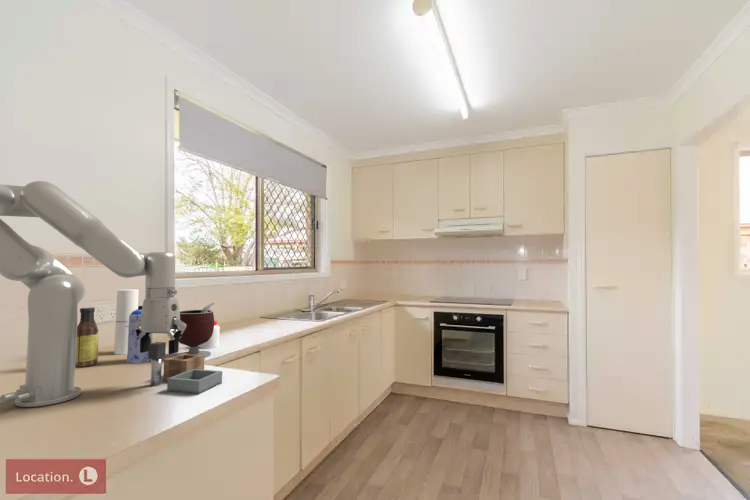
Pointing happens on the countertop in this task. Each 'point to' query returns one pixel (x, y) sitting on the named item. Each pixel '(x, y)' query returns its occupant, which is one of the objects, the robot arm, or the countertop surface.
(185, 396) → the countertop surface
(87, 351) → the sauce bottle
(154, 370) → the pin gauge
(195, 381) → the tray
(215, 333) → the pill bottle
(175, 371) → the walnut block
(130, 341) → the aerosol can
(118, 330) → the cylindrical container
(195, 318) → the mate gourd
